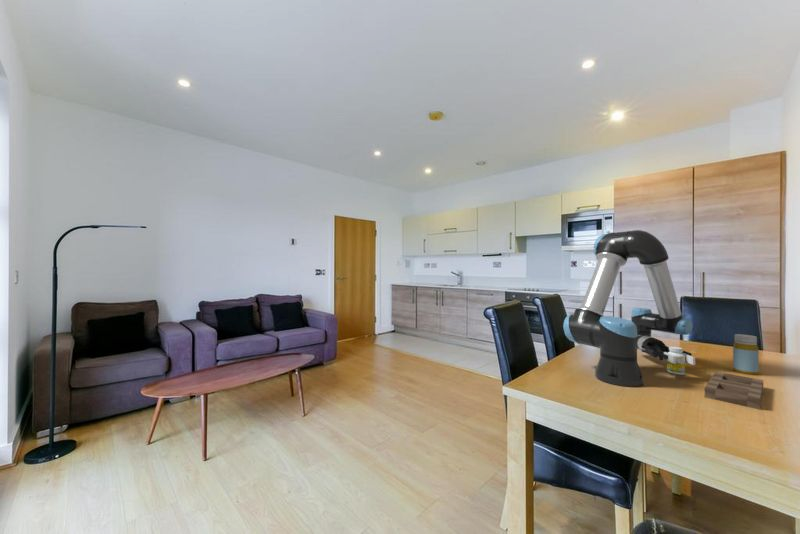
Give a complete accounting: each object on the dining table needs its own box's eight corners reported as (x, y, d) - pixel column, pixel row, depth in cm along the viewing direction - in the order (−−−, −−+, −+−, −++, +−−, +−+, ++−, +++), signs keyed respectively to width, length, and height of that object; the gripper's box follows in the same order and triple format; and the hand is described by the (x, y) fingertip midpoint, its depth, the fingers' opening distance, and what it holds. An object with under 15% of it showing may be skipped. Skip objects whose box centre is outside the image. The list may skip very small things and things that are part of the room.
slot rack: (759, 409, 95) (759, 399, 95) (704, 397, 104) (704, 387, 104) (763, 388, 111) (763, 380, 111) (715, 379, 120) (715, 371, 120)
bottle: (746, 369, 132) (746, 334, 132) (764, 375, 125) (763, 337, 125) (728, 369, 132) (728, 333, 133) (744, 374, 126) (744, 337, 126)
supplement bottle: (685, 375, 118) (685, 350, 118) (666, 372, 121) (666, 347, 121) (684, 372, 122) (684, 347, 122) (666, 369, 125) (666, 345, 125)
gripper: (676, 356, 137) (714, 373, 114) (627, 353, 141) (655, 368, 119) (676, 339, 137) (714, 352, 114) (627, 336, 141) (655, 348, 119)
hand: (684, 360), depth 117 cm, fingers closed on supplement bottle, 5 cm apart
